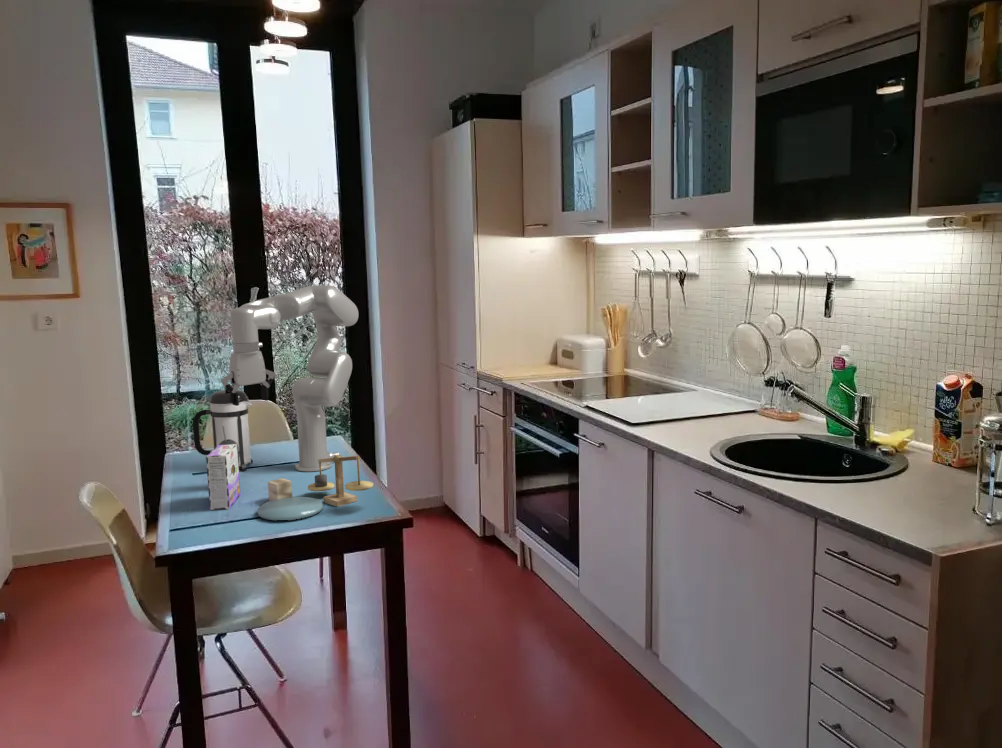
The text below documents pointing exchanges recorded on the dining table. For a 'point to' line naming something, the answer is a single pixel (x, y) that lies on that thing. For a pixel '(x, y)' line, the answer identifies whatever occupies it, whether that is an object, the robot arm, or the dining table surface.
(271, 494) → the block
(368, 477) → the dining table surface
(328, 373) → the robot arm
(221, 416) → the coffee press
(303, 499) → the dish
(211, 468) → the candy box
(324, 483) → the balance
